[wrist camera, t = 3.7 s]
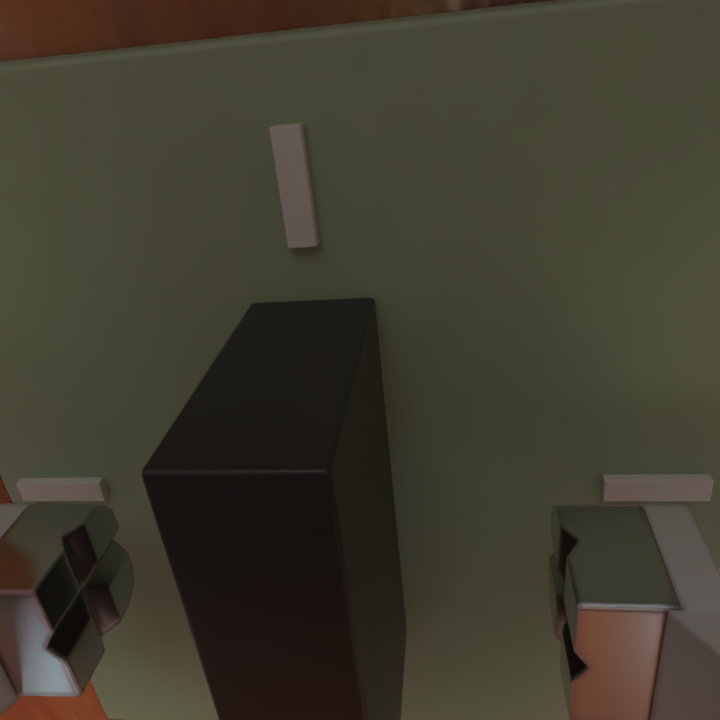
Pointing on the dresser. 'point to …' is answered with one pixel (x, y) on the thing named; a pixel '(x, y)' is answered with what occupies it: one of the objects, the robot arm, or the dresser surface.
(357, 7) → the dresser surface
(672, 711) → the robot arm
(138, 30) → the dresser surface
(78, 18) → the dresser surface
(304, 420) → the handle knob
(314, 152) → the handle panel
